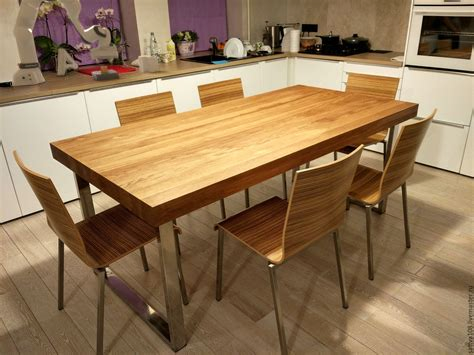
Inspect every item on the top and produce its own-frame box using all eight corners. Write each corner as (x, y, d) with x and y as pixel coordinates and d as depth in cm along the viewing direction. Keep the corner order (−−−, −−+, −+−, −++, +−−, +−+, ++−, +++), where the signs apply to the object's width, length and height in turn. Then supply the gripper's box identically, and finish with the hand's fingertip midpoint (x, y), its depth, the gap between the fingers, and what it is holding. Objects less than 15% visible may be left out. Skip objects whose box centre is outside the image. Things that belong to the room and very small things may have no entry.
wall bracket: (77, 89, 338) (63, 74, 309) (72, 90, 338) (57, 74, 309) (78, 65, 342) (64, 48, 313) (73, 66, 342) (58, 48, 313)
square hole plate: (97, 80, 289) (96, 74, 287) (92, 77, 301) (91, 71, 300) (118, 77, 296) (118, 72, 294) (113, 74, 308) (112, 69, 307)
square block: (102, 78, 297) (100, 67, 293) (103, 77, 300) (101, 66, 297) (107, 77, 297) (105, 67, 294) (108, 77, 301) (106, 66, 297)
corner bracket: (140, 71, 320) (138, 56, 315) (151, 69, 327) (150, 54, 322) (147, 72, 313) (145, 57, 308) (159, 70, 320) (157, 55, 315)
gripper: (89, 45, 298) (88, 60, 294) (117, 44, 300) (116, 59, 295) (91, 50, 304) (91, 65, 299) (118, 49, 306) (118, 64, 301)
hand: (104, 62), depth 297 cm, fingers open, 8 cm apart
